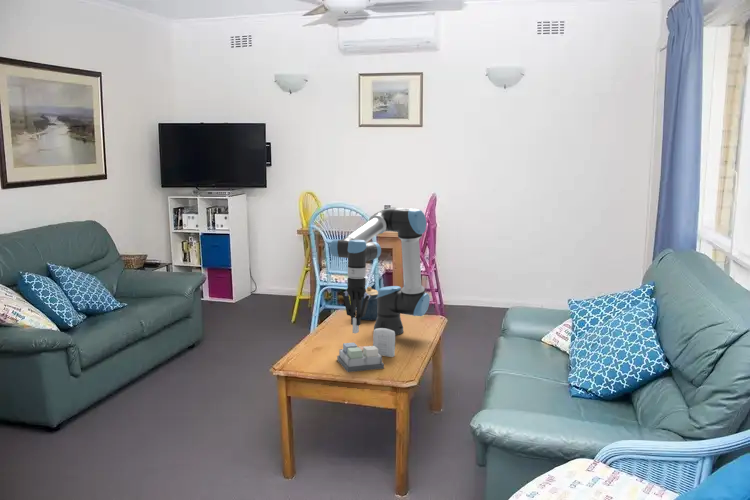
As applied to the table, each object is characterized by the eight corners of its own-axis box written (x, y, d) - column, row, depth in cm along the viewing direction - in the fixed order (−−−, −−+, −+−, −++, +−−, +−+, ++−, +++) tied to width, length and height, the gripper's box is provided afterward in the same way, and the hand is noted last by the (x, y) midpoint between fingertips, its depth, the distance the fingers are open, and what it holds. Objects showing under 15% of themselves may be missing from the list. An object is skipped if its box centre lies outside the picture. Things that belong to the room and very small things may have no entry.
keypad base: (371, 356, 277) (372, 346, 276) (383, 368, 262) (384, 357, 261) (337, 360, 272) (337, 349, 271) (347, 372, 257) (347, 360, 256)
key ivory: (374, 353, 267) (374, 345, 267) (378, 357, 262) (378, 349, 262) (363, 354, 265) (363, 346, 265) (366, 358, 261) (366, 350, 260)
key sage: (358, 355, 265) (358, 347, 264) (362, 358, 260) (362, 350, 260) (347, 356, 263) (347, 348, 263) (350, 359, 259) (350, 351, 258)
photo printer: (396, 355, 280) (396, 328, 278) (392, 357, 276) (393, 330, 274) (374, 352, 284) (375, 325, 282) (371, 354, 280) (371, 328, 278)
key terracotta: (369, 353, 274) (369, 345, 273) (372, 356, 269) (372, 348, 269) (358, 354, 272) (358, 346, 272) (361, 357, 268) (361, 349, 267)
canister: (385, 317, 345) (385, 286, 342) (370, 322, 335) (370, 290, 332) (367, 313, 353) (367, 283, 350) (352, 317, 343) (352, 286, 340)
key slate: (354, 350, 271) (354, 342, 271) (357, 353, 267) (357, 345, 266) (343, 351, 270) (343, 343, 269) (346, 354, 265) (346, 346, 265)
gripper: (338, 277, 257) (337, 332, 260) (366, 280, 251) (365, 336, 254) (347, 274, 264) (346, 328, 267) (374, 277, 258) (373, 332, 261)
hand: (355, 332), depth 261 cm, fingers closed
